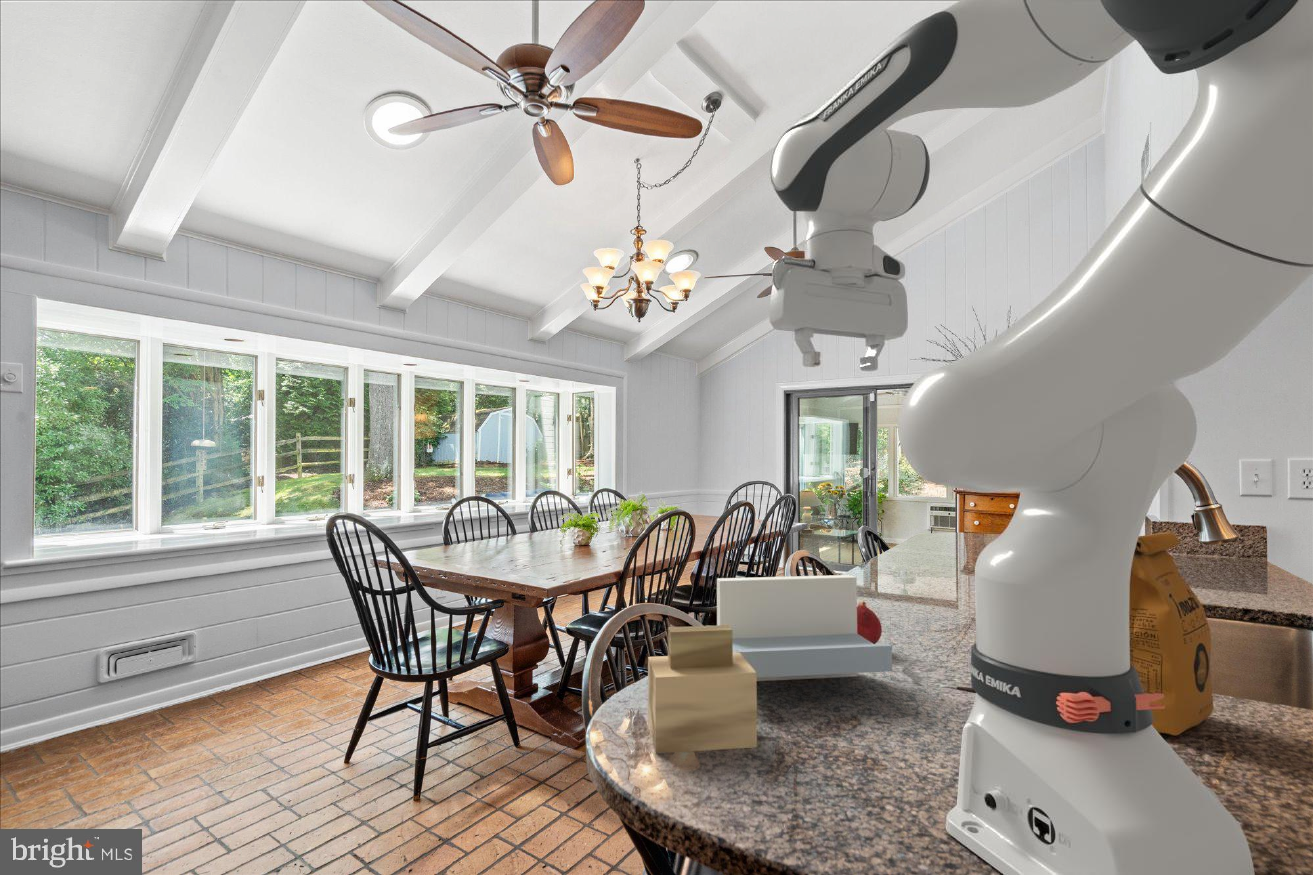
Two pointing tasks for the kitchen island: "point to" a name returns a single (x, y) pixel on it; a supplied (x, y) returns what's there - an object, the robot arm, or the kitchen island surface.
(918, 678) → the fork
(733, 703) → the stacked wooden blocks
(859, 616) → the onion
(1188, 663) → the coffee package
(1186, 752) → the kitchen island surface
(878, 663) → the wall shelf
